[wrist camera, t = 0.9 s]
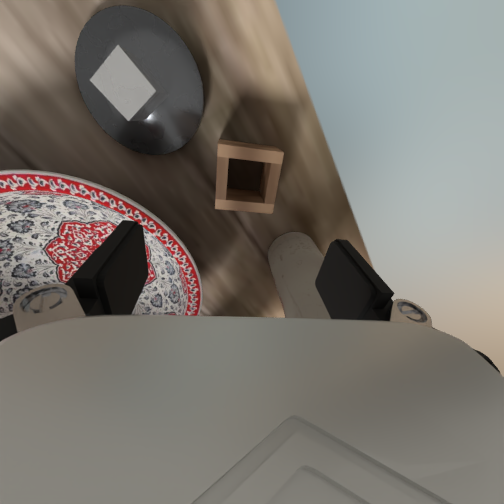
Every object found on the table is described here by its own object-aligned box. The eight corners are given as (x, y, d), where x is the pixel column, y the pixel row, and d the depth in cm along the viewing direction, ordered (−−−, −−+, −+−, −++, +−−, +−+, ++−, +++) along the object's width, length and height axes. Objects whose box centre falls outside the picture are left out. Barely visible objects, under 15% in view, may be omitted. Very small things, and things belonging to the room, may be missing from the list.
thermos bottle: (279, 279, 39) (359, 526, 16) (259, 246, 35) (327, 512, 12) (321, 259, 38) (477, 498, 14) (305, 222, 34) (486, 472, 10)
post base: (226, 104, 25) (227, 102, 20) (154, 173, 28) (137, 188, 23) (135, -27, 19) (100, -82, 14) (58, 77, 22) (3, 66, 17)
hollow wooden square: (275, 146, 28) (284, 152, 24) (266, 200, 31) (272, 213, 27) (218, 138, 27) (217, 143, 23) (216, 195, 30) (214, 208, 26)
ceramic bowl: (82, 337, 42) (55, 380, 36) (-75, 192, 27) (-176, 219, 20) (229, 300, 41) (229, 337, 34) (155, 125, 25) (130, 130, 19)
